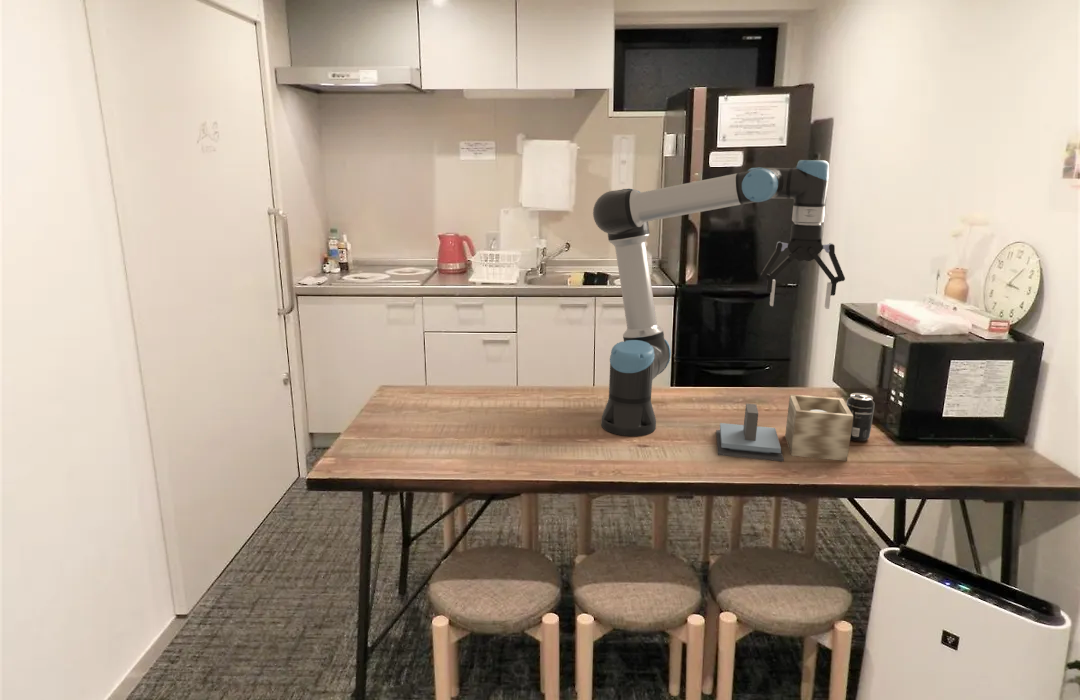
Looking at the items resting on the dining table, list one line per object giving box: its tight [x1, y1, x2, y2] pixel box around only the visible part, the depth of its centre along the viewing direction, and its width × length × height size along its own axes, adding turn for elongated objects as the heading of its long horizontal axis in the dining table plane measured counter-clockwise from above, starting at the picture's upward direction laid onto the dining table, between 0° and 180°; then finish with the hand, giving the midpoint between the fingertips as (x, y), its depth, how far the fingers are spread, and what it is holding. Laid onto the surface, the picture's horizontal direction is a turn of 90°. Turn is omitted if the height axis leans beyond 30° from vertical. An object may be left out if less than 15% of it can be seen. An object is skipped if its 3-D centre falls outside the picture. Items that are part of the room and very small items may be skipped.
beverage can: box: [845, 392, 875, 442], centre depth 192 cm, size 7×7×12 cm
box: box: [784, 393, 853, 462], centre depth 185 cm, size 13×13×12 cm
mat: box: [715, 429, 785, 462], centre depth 187 cm, size 16×16×1 cm
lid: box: [719, 403, 782, 453], centre depth 186 cm, size 14×14×10 cm
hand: (798, 306), depth 185 cm, fingers open, 13 cm apart
